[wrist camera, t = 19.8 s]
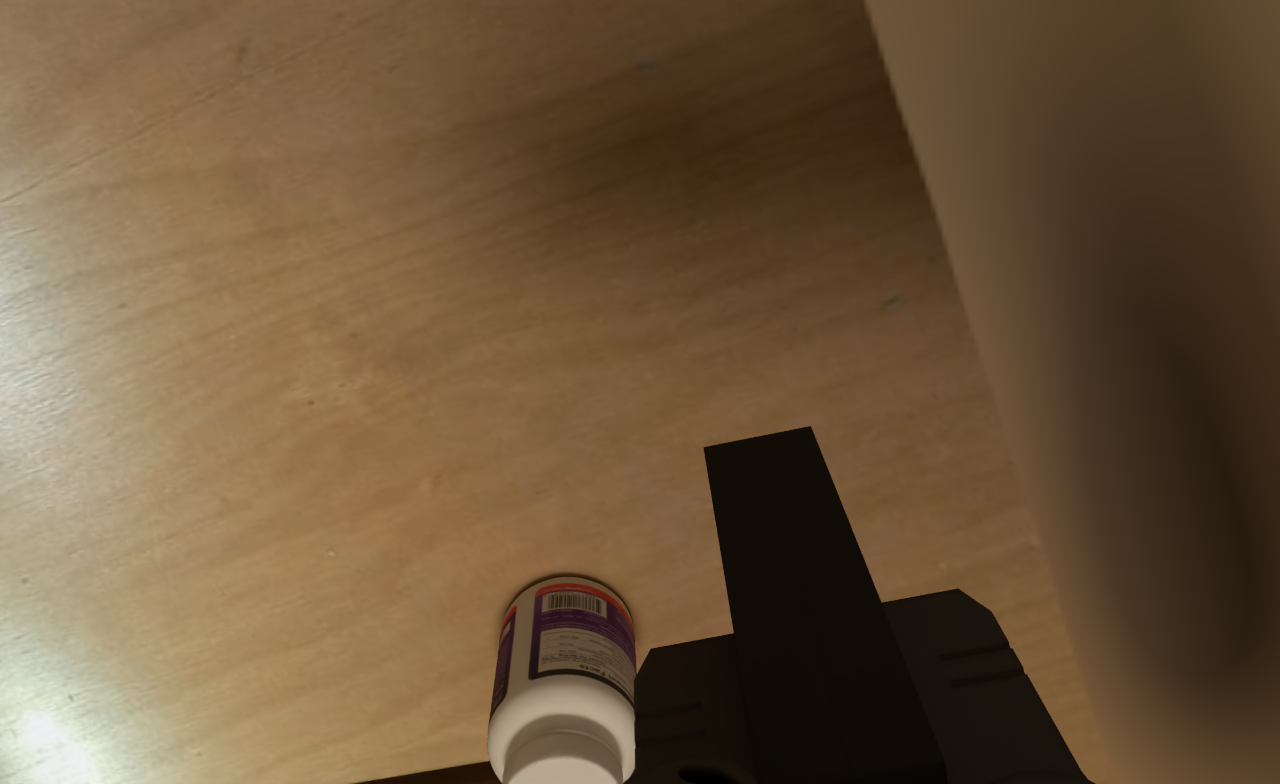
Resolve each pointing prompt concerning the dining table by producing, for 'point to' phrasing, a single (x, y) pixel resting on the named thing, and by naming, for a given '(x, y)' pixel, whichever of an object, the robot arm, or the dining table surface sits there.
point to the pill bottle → (564, 687)
